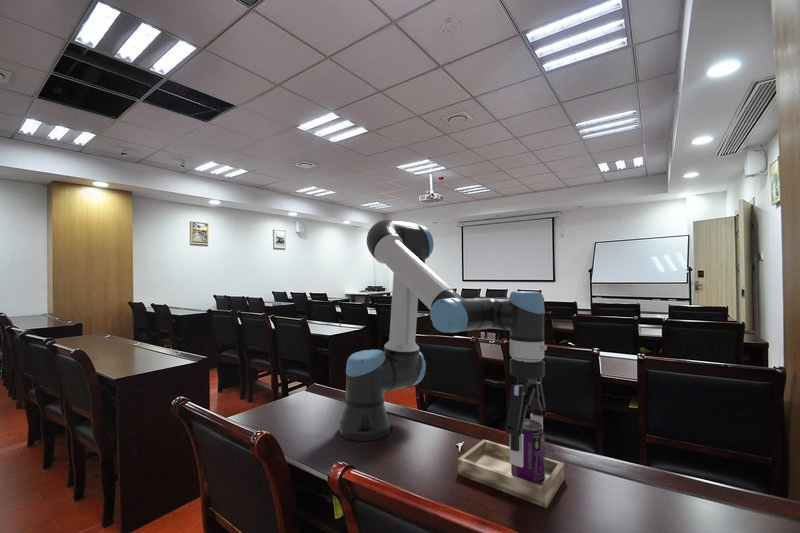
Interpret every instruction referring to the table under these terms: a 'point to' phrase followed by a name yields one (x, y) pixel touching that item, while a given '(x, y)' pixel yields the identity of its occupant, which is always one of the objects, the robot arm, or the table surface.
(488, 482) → the crate
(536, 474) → the beverage can
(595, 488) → the table surface
